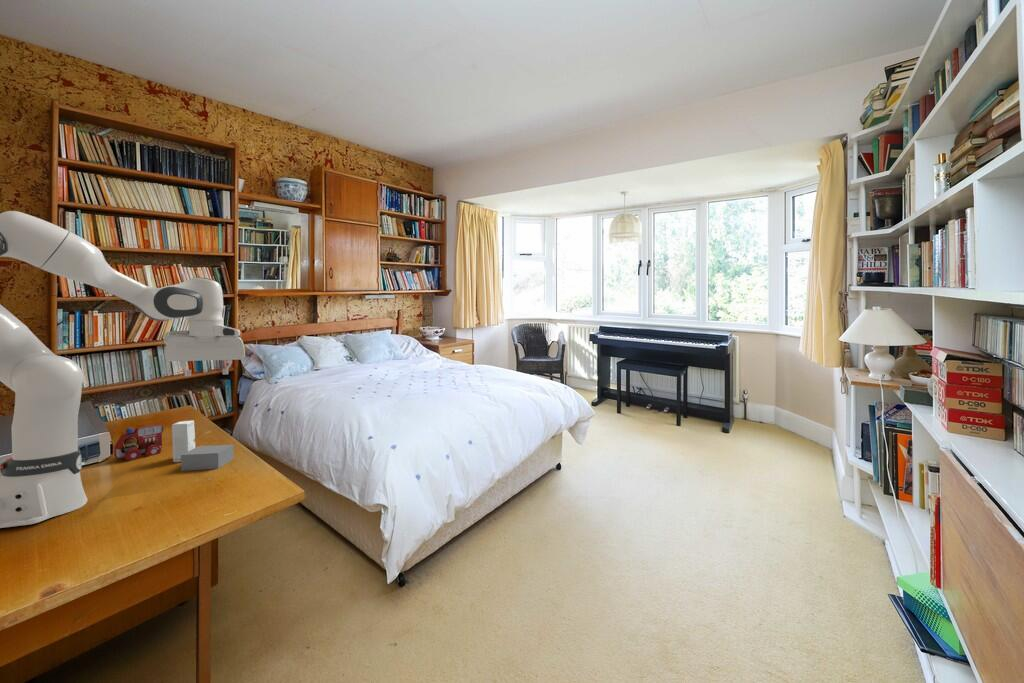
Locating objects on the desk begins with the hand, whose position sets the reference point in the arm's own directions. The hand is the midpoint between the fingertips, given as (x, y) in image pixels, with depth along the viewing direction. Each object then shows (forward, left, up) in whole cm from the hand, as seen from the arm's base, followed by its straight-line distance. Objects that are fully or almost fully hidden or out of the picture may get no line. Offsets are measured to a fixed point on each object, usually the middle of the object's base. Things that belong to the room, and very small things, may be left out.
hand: (207, 375), depth 131 cm
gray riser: (0, 0, -28) cm, 28 cm away
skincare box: (-7, +11, -28) cm, 31 cm away
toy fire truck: (-20, +21, -28) cm, 40 cm away
